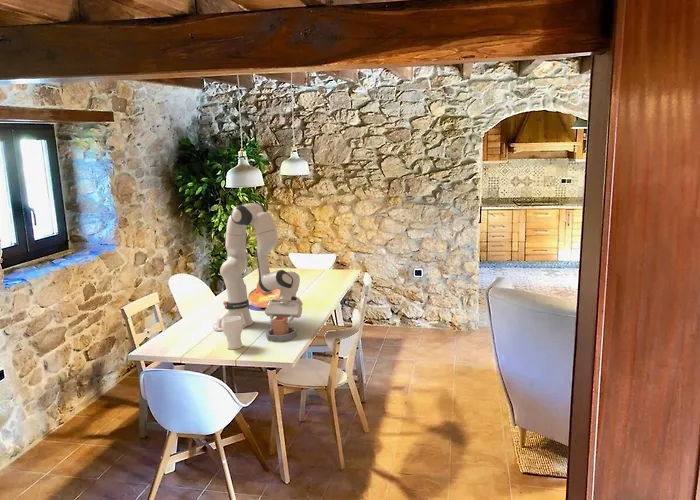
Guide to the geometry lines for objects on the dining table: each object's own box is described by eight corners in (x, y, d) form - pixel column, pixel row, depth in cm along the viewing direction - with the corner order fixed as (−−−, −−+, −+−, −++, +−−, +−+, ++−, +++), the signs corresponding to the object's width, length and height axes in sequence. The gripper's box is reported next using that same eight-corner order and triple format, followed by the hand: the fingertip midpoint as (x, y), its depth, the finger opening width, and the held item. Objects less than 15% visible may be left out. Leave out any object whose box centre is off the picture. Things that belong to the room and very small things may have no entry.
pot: (283, 337, 301) (282, 320, 299) (273, 336, 303) (272, 320, 301) (289, 333, 306) (287, 316, 304) (278, 332, 308) (277, 316, 306)
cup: (226, 352, 287) (223, 323, 285) (222, 345, 297) (218, 317, 294) (247, 347, 291) (244, 319, 289) (242, 341, 301) (239, 314, 298)
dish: (270, 343, 295) (269, 338, 295) (264, 334, 309) (264, 329, 309) (299, 338, 300) (298, 333, 299) (292, 329, 314) (291, 324, 313)
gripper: (266, 296, 311) (259, 319, 304) (301, 298, 304) (294, 321, 297) (271, 302, 316) (264, 325, 309) (305, 303, 309) (299, 327, 302)
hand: (279, 323), depth 303 cm, fingers open, 8 cm apart
